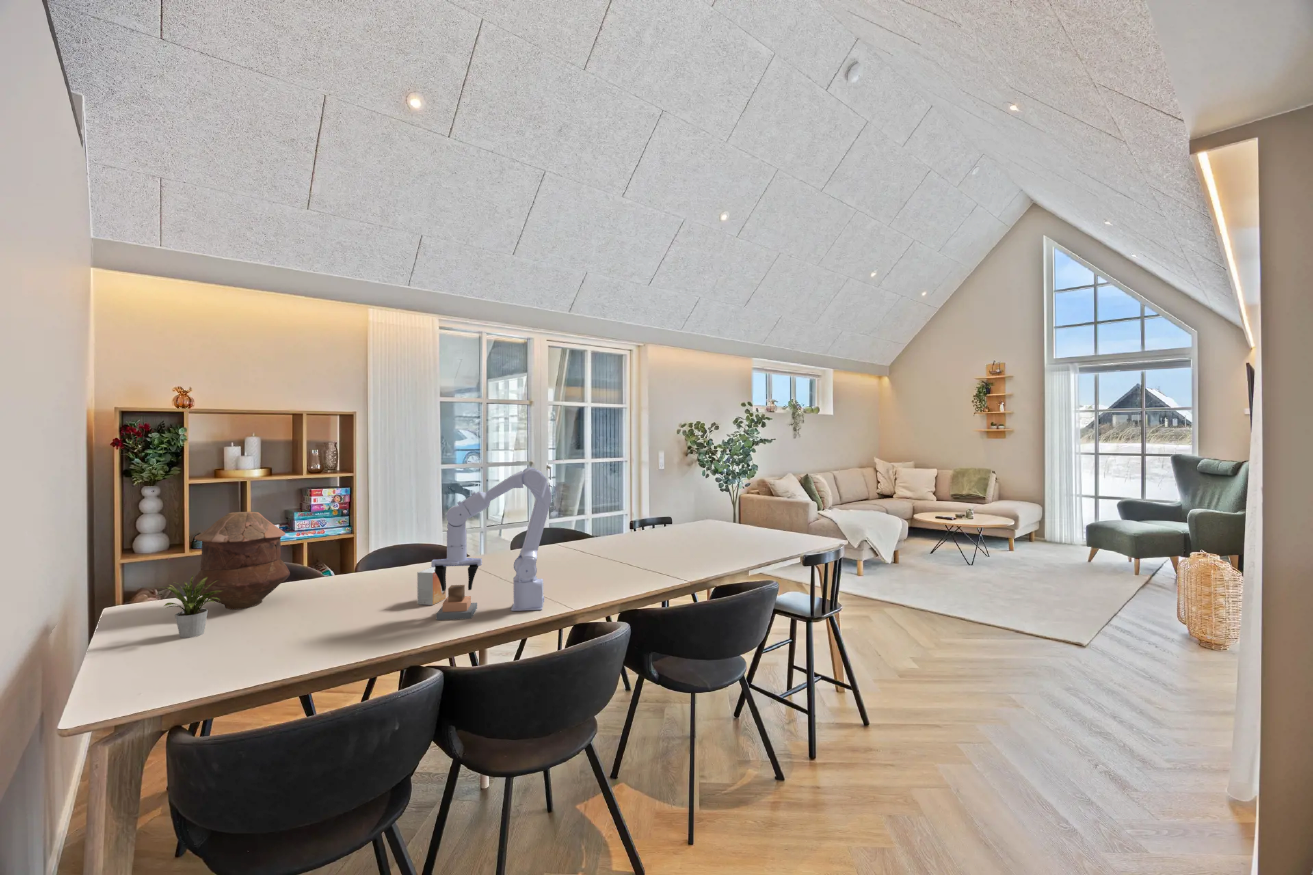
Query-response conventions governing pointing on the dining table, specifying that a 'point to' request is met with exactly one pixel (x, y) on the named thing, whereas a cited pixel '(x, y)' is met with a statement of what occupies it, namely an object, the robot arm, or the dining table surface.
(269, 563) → the pottery vessel
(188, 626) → the house plant
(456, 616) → the slate tile
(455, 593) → the walnut cube
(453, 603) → the terracotta tile
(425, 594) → the small box
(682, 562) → the dining table surface
